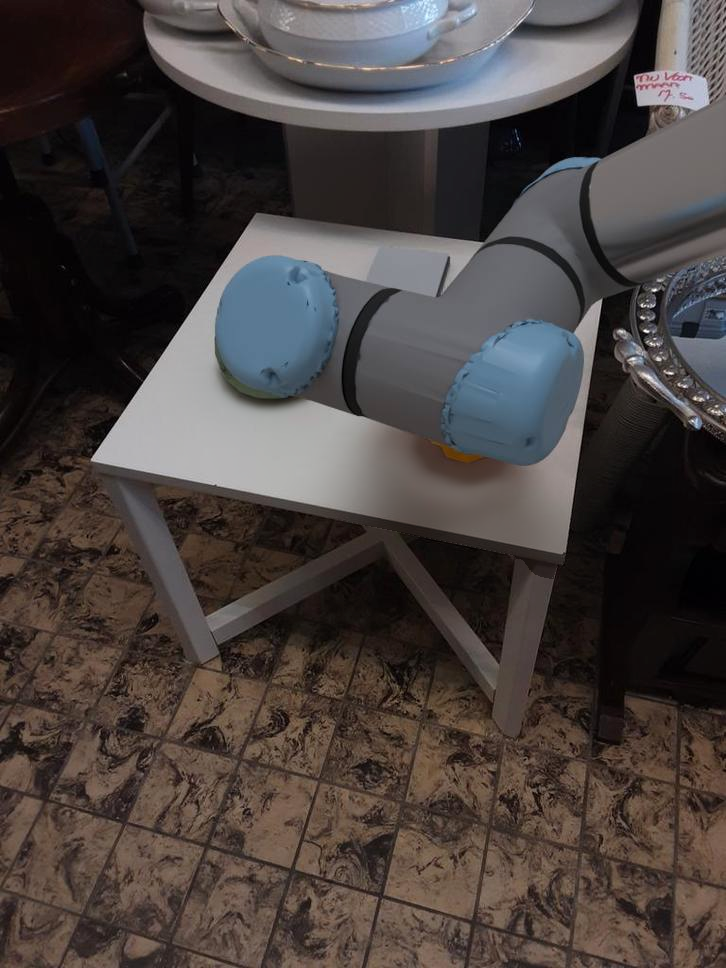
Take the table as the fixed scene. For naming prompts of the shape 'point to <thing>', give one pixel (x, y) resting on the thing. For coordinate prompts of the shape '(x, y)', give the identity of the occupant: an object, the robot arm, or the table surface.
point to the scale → (410, 270)
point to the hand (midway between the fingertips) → (486, 382)
